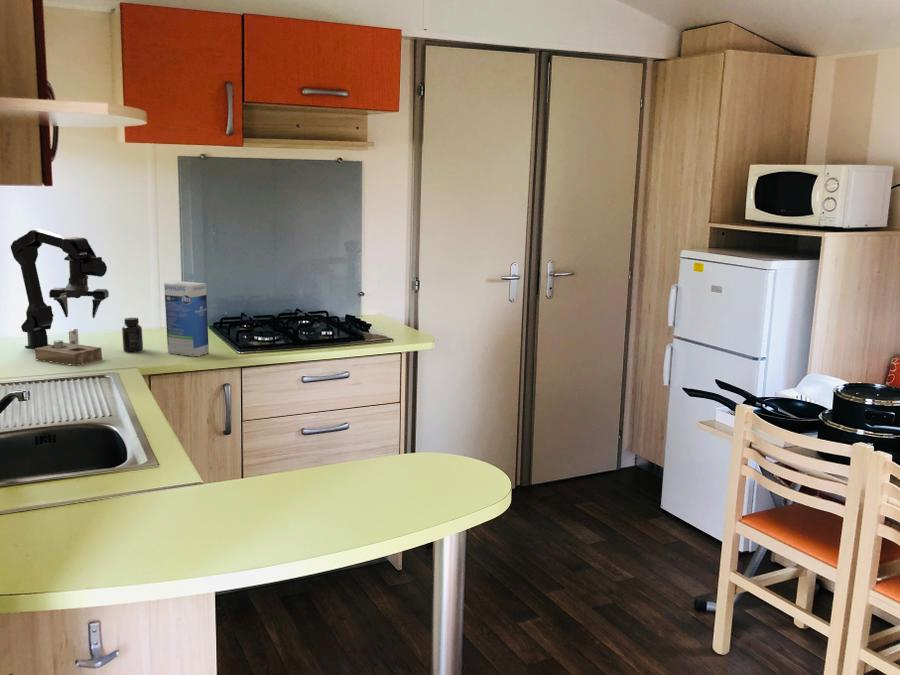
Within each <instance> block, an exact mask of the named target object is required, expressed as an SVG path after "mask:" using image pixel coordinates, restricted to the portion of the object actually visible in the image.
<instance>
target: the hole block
mask: <svg viewBox="0 0 900 675" xmlns="http://www.w3.org/2000/svg"><path fill="white" fill-rule="evenodd" d="M102 354H103V353H102V347H99V346H98V347H97V346H92V345H83V344H79V345H78V344H71V343H70V342H64V341H63V348H59V349H57V348H54V344H50V345H49V346H45V347H40V348H36V349H34V355H35V360H36V359H38V360H37V361H39V360H45V361H44V362H46V361H52V362H58V363H57V364H59V363H64V364H63V365H65V364H71V365H70V366H72V365H76V366H79V365H78V364H80V365H83V364H82V363H84V364H87V363H86V362H88V363H91V362H90V361H92V362H95V361H94V360H96V361H98V360H97V359H100V360H102V359H103V356H102ZM101 358H102V359H101ZM52 362H51V363H52Z"/></svg>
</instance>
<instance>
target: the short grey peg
mask: <svg viewBox="0 0 900 675" xmlns="http://www.w3.org/2000/svg"><path fill="white" fill-rule="evenodd" d="M63 342H64V340H60V339H59V340H54V341H53V345H54V348H57V349H59V348H63Z"/></svg>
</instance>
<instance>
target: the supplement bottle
mask: <svg viewBox="0 0 900 675" xmlns="http://www.w3.org/2000/svg"><path fill="white" fill-rule="evenodd" d="M139 320H140V319H139V318H138V317H126V318H124V320H123V321H124V326H123V327H122V329H121V334H122V348H123V352H124V353H140V352H142V351H143V350H144V342H143V338H144V337H143V328H142V326H141V325H140V321H139Z"/></svg>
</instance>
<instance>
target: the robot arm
mask: <svg viewBox="0 0 900 675" xmlns="http://www.w3.org/2000/svg"><path fill="white" fill-rule="evenodd" d="M43 244H45V245H46V244H47V245H49V246H53V247H56V248H59V249H61V250H62V252H63V253H66V254H67V256H65V257H64V261H68V264H69V265H68V267H69V268H68V269H69V278H68V283H67V285H66V286H65V287H53V288H52V289H50V290H49V291H48V292H49V293H48V294H49V295H48V296H49V297H48V298H53V301H57V303H58V304H59V306H60V308H61V309H62V312H63V314H64V317H65V318H68V317H69V303H68V299H71V298H73V299H74V298H75V299H79V298H81V297H92V300H91V302H92V312H91V314H92V316H91V317H92V319H95V317H96V315H97V312H98V308H99V307H100V305H101V302H103V301H104V300H106V299H107V298H109V297H110V294H109V293H110V292H109V290H108V289H107V288H106V289H105V288H96V289H94V290H93V291H92V290H89V289H90V288H89V286H88V281H89V280H88V279H89V276H92V277H99V278H100V277H104V276H105V274H106V273H107V270H108V268H107V266H108V265H107V264H106V263H105V261H104V260H103V258H102V256H97V255H96V252H95V251H94V250H93V248H92V246H91V245H90V243H89V240H88V239H87V238H85V237H78V236H77V237H74V236H73V237H69V236H66V235H65V236H64V235H62V234H58V233H55V232H51V231H49V230H48V231H47V230H45V229H43V228H36V229H35V228H34V229H31V230H29V231H28V232H27V233H26V234H23V235H22V236H20V237H18V238H17V239H15V240H13V241H12V244H11V245H10V251H11V254H12V256H13V259H14V260H15V261H16V262H17V263H18V264H19V266H20V270H21V274H22V279H23V283H24V288H25V292H26V297H27V302H28V305H27V309H26V312H25V315H26V319H25V320H24V322H23V323H22V324H21V326H20V327H21V331H22V332H23V333H27V345H24V348H28V349H34V350H35V349H36V348H40V347H45V346H49V345H51V344H49V342H48V341H49V340H48V334H47V330H50V329H51V328H52V323H53V322H54V317H55V316H54V312H53V308H52V306H51V305H47V304H46V303H45V300H44V297H43V292H42V288H41V282H40V278H39V274H38V269H37V264H36V262H37V259H38V257H39V251H38V250H39V249H40V248H41V246H42V245H43Z"/></svg>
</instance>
